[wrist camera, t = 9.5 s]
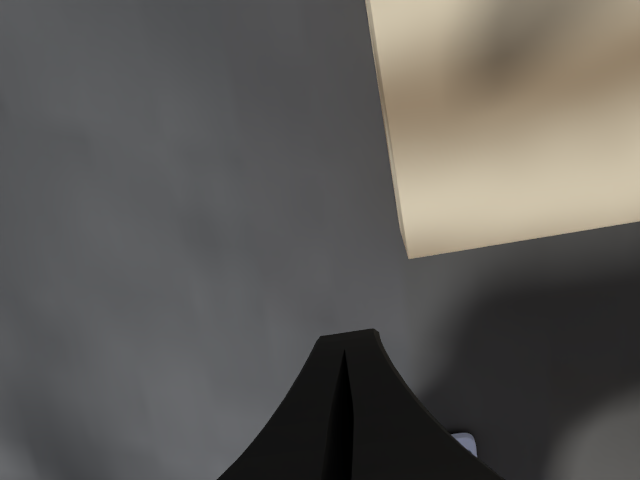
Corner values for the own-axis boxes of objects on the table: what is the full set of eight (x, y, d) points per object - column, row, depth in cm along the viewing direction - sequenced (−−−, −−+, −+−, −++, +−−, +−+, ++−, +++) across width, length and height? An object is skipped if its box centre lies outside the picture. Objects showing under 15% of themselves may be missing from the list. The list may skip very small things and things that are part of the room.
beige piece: (705, 176, 20) (763, 200, 17) (400, 229, 22) (408, 259, 19) (730, -121, 17) (808, -151, 14) (359, -37, 18) (362, -48, 15)
